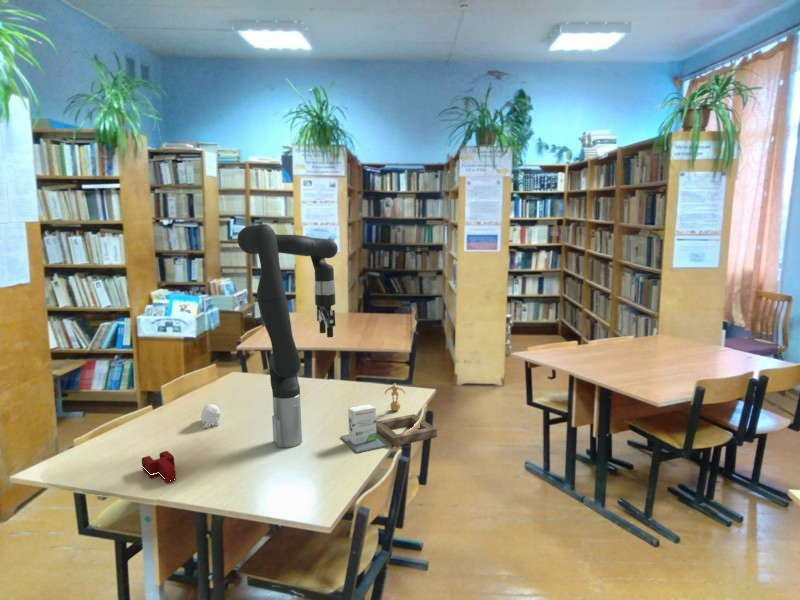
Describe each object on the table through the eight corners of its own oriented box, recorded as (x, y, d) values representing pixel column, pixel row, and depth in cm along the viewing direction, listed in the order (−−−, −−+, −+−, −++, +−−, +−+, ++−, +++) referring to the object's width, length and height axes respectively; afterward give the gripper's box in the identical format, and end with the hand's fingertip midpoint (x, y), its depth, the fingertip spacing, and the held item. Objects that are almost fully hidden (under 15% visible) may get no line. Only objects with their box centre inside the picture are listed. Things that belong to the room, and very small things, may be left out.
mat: (356, 453, 178) (356, 451, 178) (340, 437, 191) (340, 435, 191) (386, 446, 183) (386, 445, 183) (369, 431, 196) (369, 430, 196)
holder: (393, 446, 183) (393, 438, 182) (373, 429, 198) (373, 422, 197) (437, 437, 190) (437, 429, 190) (414, 421, 205) (414, 414, 205)
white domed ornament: (202, 407, 199) (196, 401, 209) (204, 430, 199) (197, 423, 209) (220, 404, 202) (212, 398, 212) (222, 426, 203) (214, 420, 213)
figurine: (405, 409, 219) (405, 380, 218) (405, 414, 214) (405, 384, 212) (385, 409, 220) (384, 380, 218) (384, 414, 214) (383, 384, 212)
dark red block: (142, 470, 168) (141, 455, 167) (166, 463, 173) (164, 448, 172) (160, 488, 156) (158, 472, 156) (184, 480, 161) (183, 464, 160)
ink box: (371, 435, 191) (370, 403, 190) (377, 440, 187) (376, 407, 185) (348, 440, 187) (347, 407, 186) (353, 445, 183) (352, 411, 181)
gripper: (309, 291, 207) (311, 332, 210) (321, 295, 195) (322, 339, 197) (328, 290, 211) (329, 330, 213) (341, 294, 198) (342, 337, 200)
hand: (326, 335), depth 205 cm, fingers open, 8 cm apart
